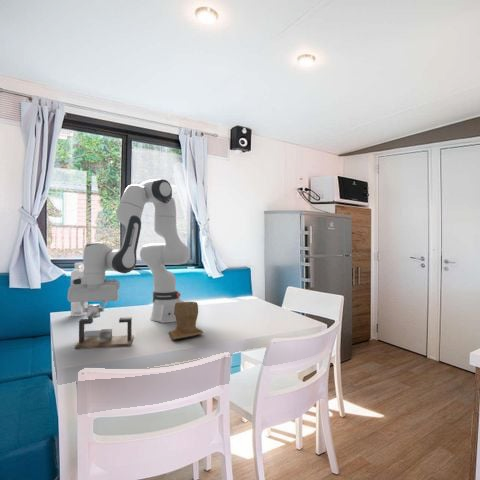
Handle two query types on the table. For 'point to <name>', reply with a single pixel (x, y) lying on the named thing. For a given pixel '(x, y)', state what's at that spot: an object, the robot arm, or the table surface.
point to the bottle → (75, 306)
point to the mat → (92, 333)
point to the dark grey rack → (104, 336)
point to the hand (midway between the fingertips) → (93, 311)
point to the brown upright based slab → (185, 320)
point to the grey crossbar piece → (93, 311)
